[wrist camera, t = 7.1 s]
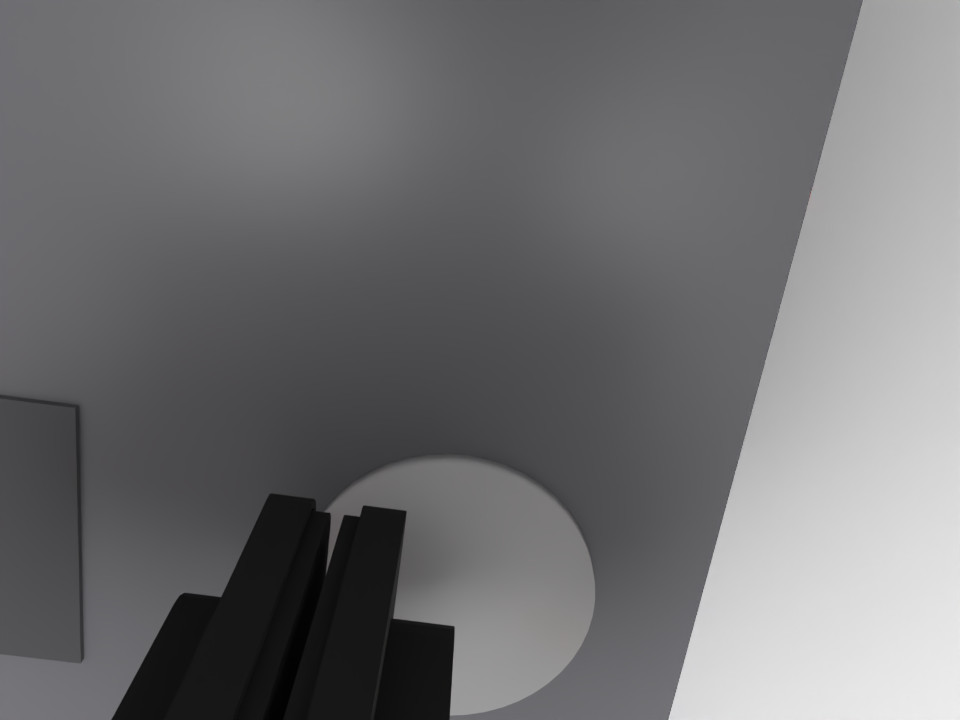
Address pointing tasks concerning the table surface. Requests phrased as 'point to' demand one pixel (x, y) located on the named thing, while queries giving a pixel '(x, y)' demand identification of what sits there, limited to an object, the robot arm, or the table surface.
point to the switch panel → (393, 315)
